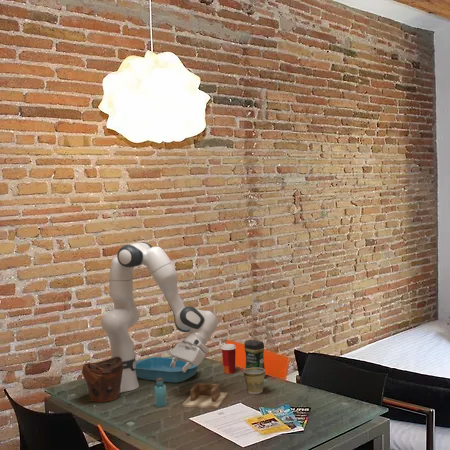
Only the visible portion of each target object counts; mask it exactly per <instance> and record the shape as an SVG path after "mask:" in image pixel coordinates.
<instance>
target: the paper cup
mask: <svg viewBox="0 0 450 450" xmlns="http://www.w3.org/2000/svg"><path fill="white" fill-rule="evenodd" d="M236 349H237V347H236V345H235V344H233V343H226V344H222V345H221V348H220V350H221V354H222V355H221V356H222V363H223V364H222V367H223V374H226V375H233V374H235V373H236Z"/></svg>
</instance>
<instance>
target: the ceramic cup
mask: <svg viewBox="0 0 450 450" xmlns="http://www.w3.org/2000/svg"><path fill="white" fill-rule="evenodd" d="M242 372H243V373H242V374H243V376H244V377H243V378H244V380H245V384H246V385H245V386H246V391H247V392H248V394H249V395H259V394H261V393H263V391H264V380H265V377H266V368H265V369H263V368H247V369H246V368H245V369H243V371H242ZM264 376H265V377H264Z"/></svg>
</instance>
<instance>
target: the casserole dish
mask: <svg viewBox="0 0 450 450" xmlns="http://www.w3.org/2000/svg"><path fill="white" fill-rule="evenodd" d="M172 359H173V357H165V356H151V357H146V358H143V359H139V360H136V376H137V379H140V380H147V381H155V382H156V378H157V377H163V383H174V384H175V383H181V382H185V381H186V380H188V379H190V378H192V377H193V376H195V375H196V373H197V371H198V367H199V365H198V366H194V365H192V366H191V367H190V368H188V369H187V370H186V372H183V371H181V368H182V367H184V366H185V365H186V362H183V361H180V360H178V361H176V364H175V365H176V366H175V367H174V368H172V367H171V366H170V364H171V363H172Z"/></svg>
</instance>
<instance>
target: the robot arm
mask: <svg viewBox="0 0 450 450" xmlns="http://www.w3.org/2000/svg"><path fill="white" fill-rule="evenodd" d="M142 265H143V266H145V267H146V268H147V269H148V272H149V273H150V274H151V275H150V276H151V277H152V279H153V280H154V281H155V283H156V285H157V286H158V288H159V289H160V291H161V292H162V294H163V296H164V297H165V299H166V302H167V304H168V305H169V307H170V310H171V311H172V314H173V318H174V326H175V328H176V329H177V330H178V332H179V331H180V332H181V333H189V334H188V335H187V337H186V338H185V339H184V340H182V341H180V342H178V343H177V344H175V346H174V348H173V349H172V350H171V352H170V353H169V354H170V356H171V358H173V359H172V363H171V364H170V366H171V367H172V368H174V367H175V366H176V365H175V364H176V361H178V360H180V361H183V362H186V365H185V366H184V367H182V368H181V371H183V372H186V370H187V369H188V368H190V367H191V366H192V365H194V366H198V367H199V365H201V363H202V362H203V360H204V358H205V357H206V354H208V353H209V351H210V349H209V348H208V347H207V345H206V344H207V343H208V340H209V339H210V338H211V336H212V335H213V334H214V333H215V331H216V330H217V327H218V326H219V319H218V316H217V315H216V314H215V313H214V312H212V311H211V310H203V309H202V310H201V309H198V308H196V307H194V306H185V303H184V302H183V300H182V298H181V296H180V294H179V291H178V274H177V270H176V268H175V266H174V264H173V262H172V260H171V259H170V257H169V256H168V255H167V254H166V251H164V250H163V248H162V247H160V246H152V245H151V244H150V243H149V242H145V241H140V242H132V243H130V244H125V245H123V246H122V247H120V249H118V251H117V254H116V256H115V257H113V258H112V260H111V262H110V266H109V267H110V268H109V278H108V279H109V282H108V283H109V289H108V291H109V297H110V298H111V300H112V302H113V305H114V308H113V309H112V310H109V311H107V312H106V313H105V314H104V315H103V316H102V317H101V319H100V320H101V321H100V322H101V323H100V326H101V328H102V330H103V331H104V332H105V333H106V334H107V337H108V341H109V345H110V359H112V358H114V357H120V358H121V359H122V363H123V372H122V379H121V387H120V393H125V392H130V391H133V390H136V389H138V388H139V387H140V383H139V381H138V377H137V376H136V361H137V360H136V357H135V342H134V341H133V339H132V338H131V336H130V333H129V328H131V327H133V326H134V325H136V323H137V322H139V319H140V312H139V311H140V310H139V308H137V307H136V304H135V303H136V302H135V299H134V292H133V290H134V289H133V288H134V287H133V283H134V282H133V281H134V279H133V271H134V269H135V267H140V266H142Z"/></svg>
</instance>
